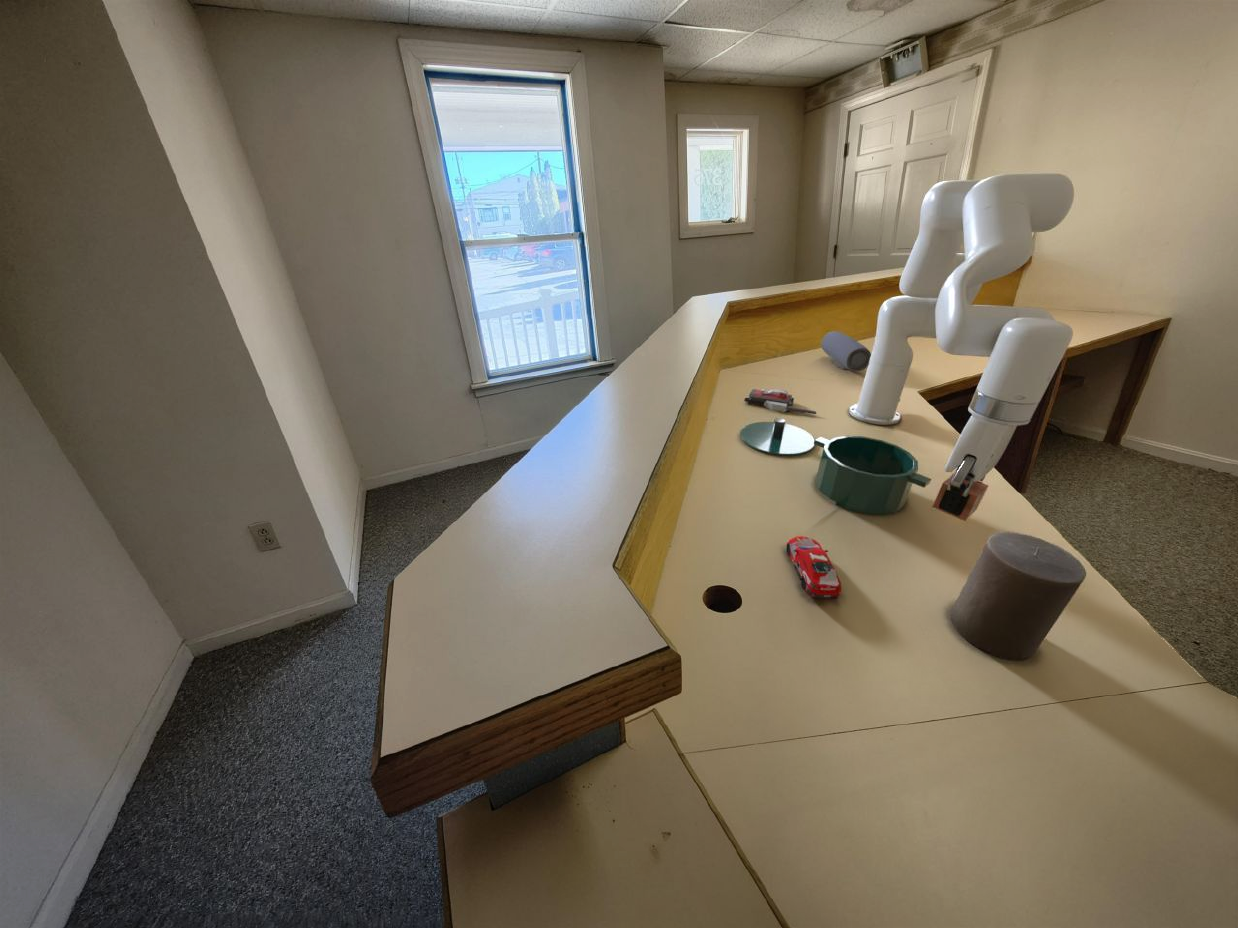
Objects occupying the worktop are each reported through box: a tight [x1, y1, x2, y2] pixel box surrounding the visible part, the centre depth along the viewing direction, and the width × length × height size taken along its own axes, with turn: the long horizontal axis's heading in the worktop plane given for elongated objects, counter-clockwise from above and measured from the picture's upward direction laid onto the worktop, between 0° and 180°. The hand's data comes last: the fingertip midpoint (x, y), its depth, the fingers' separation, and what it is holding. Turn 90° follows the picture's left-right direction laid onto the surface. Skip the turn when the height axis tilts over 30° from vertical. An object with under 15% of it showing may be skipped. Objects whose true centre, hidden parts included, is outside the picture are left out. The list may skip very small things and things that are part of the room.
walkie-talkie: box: [743, 388, 817, 415], centre depth 130 cm, size 9×4×20 cm
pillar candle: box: [950, 531, 1087, 661], centre depth 59 cm, size 10×10×15 cm
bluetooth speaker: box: [820, 330, 872, 373], centre depth 162 cm, size 23×9×10 cm, turn 179°
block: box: [931, 473, 989, 522], centre depth 76 cm, size 5×5×5 cm
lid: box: [739, 417, 816, 457], centre depth 111 cm, size 18×18×6 cm
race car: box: [786, 535, 842, 600], centre depth 72 cm, size 13×5×4 cm, turn 177°
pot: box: [814, 435, 932, 516], centre depth 91 cm, size 17×22×8 cm
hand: (956, 503), depth 76 cm, fingers closed on block, 5 cm apart
